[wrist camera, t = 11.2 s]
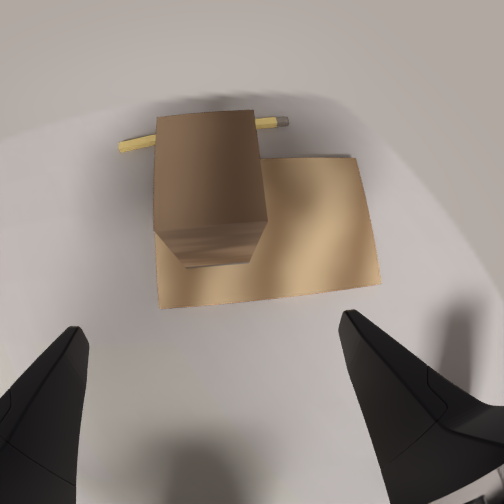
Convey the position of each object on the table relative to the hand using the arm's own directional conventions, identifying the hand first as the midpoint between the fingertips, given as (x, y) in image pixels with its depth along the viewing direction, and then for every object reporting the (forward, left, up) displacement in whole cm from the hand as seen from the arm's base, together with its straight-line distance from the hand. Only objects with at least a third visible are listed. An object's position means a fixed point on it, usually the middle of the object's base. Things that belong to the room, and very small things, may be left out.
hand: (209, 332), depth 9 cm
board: (+4, +7, -12) cm, 15 cm away
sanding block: (0, +7, -11) cm, 13 cm away
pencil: (-1, +16, -12) cm, 20 cm away
